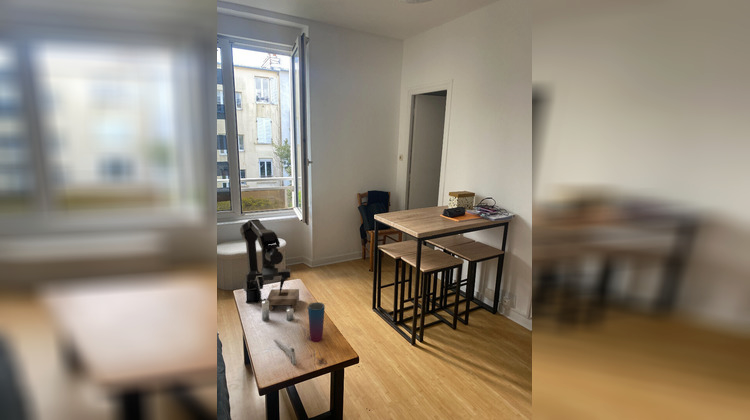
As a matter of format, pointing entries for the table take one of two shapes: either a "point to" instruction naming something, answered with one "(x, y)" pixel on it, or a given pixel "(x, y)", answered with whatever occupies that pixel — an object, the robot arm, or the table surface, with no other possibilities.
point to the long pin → (265, 310)
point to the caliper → (287, 351)
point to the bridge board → (283, 298)
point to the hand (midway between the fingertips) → (269, 292)
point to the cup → (316, 321)
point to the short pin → (290, 314)
